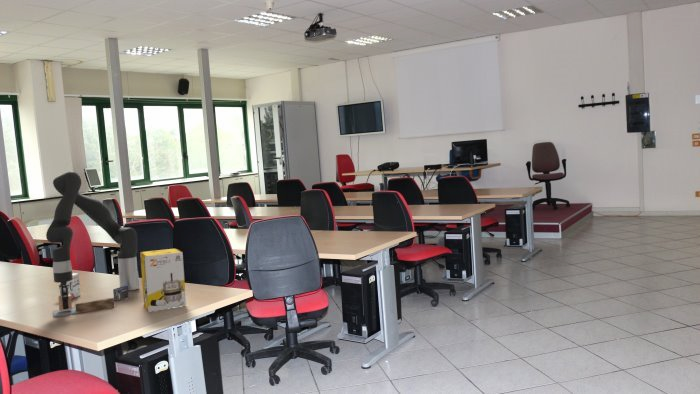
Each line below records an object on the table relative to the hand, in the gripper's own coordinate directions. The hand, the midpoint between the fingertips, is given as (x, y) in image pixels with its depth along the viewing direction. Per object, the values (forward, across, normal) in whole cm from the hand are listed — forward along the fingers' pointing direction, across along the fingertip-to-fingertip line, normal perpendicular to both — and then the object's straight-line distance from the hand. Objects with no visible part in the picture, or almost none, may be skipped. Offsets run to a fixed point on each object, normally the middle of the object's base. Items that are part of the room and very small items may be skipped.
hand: (65, 307), depth 253 cm
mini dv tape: (+3, +11, -25) cm, 27 cm away
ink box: (+3, +34, -4) cm, 34 cm away
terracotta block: (+1, 0, 0) cm, 1 cm away
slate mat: (+2, 0, 0) cm, 2 cm away
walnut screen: (+2, -3, -12) cm, 13 cm away
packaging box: (+3, -18, -40) cm, 44 cm away
